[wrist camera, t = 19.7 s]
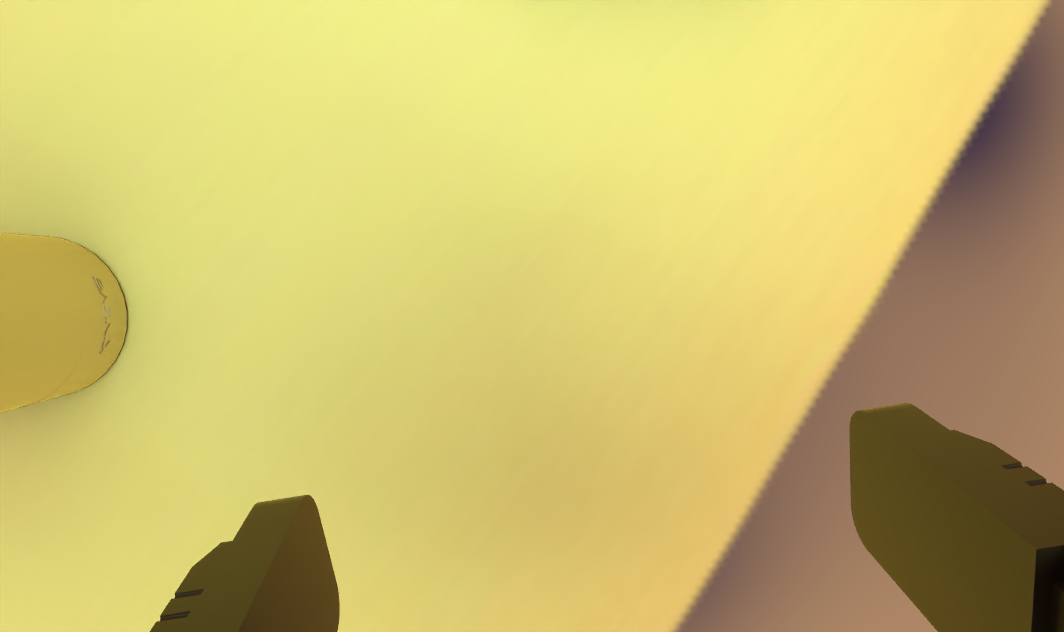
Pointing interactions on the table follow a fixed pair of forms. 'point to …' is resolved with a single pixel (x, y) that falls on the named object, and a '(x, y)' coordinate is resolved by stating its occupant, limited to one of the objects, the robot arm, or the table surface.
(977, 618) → the robot arm
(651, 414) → the table surface
